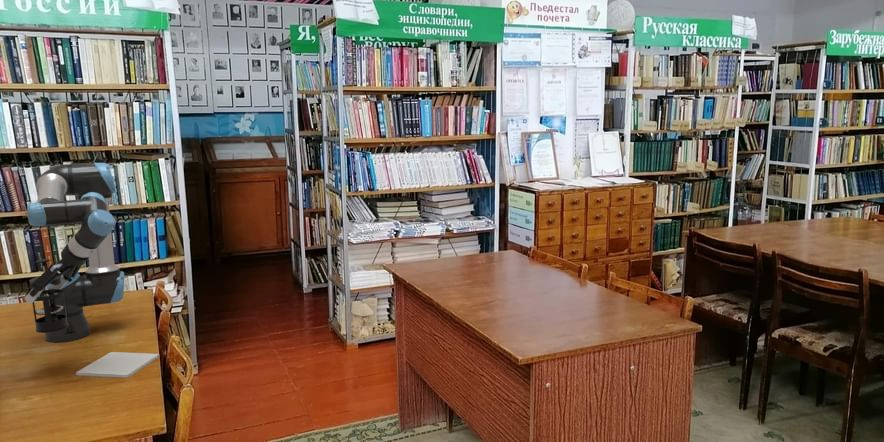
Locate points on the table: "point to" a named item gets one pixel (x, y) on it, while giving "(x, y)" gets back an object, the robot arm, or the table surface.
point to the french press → (50, 307)
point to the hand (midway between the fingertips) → (40, 296)
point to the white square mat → (118, 364)
